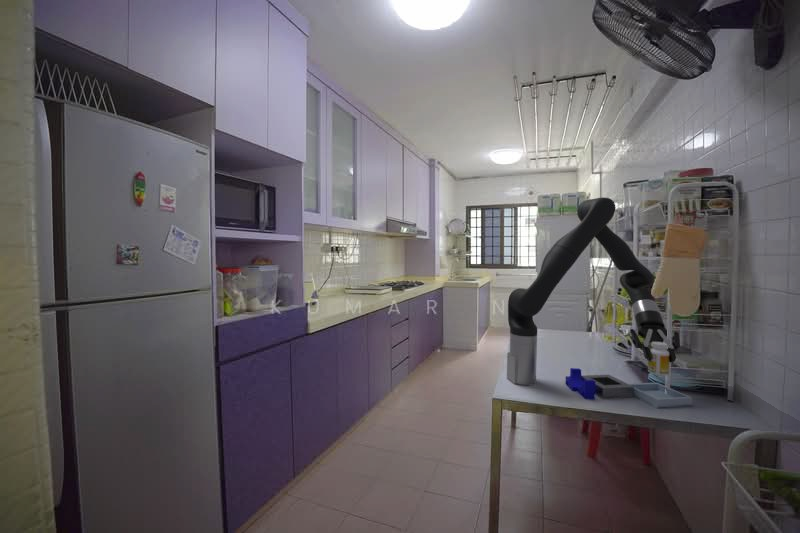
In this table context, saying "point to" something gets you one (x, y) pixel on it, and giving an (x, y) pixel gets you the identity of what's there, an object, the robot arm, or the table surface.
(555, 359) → the table surface
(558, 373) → the table surface
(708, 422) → the table surface
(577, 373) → the blue stepped block
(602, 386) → the tray
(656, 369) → the supplement bottle
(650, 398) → the tray
